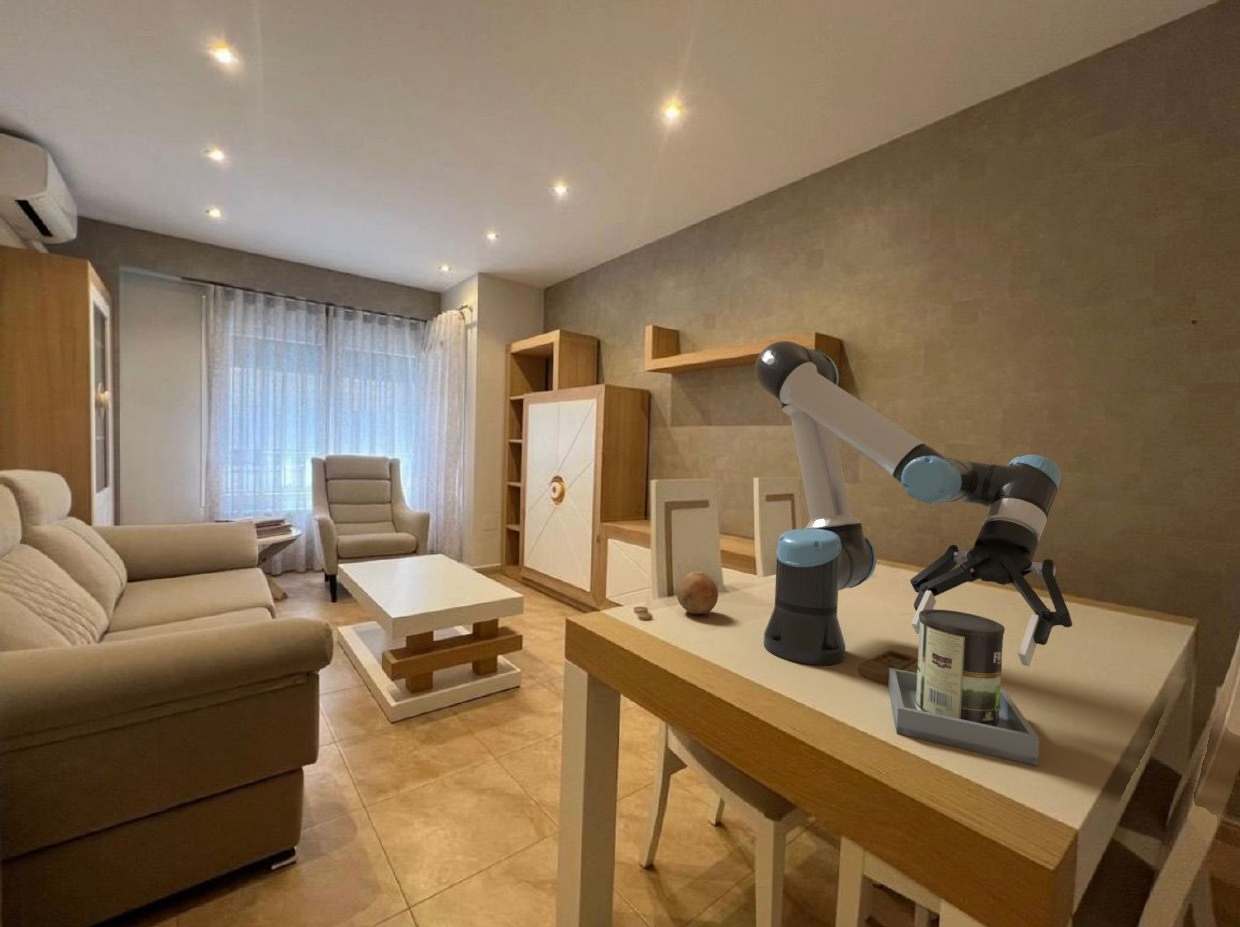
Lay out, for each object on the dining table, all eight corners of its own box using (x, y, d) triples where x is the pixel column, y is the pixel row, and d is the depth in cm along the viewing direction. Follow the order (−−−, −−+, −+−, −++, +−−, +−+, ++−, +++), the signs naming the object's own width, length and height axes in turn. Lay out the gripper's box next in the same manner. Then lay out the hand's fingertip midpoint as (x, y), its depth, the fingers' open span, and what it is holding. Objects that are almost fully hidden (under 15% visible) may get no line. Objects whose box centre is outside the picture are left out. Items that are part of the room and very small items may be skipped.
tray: (896, 733, 70) (897, 708, 70) (888, 688, 84) (889, 667, 84) (1038, 766, 63) (1039, 738, 63) (1003, 712, 78) (1004, 689, 78)
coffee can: (995, 712, 75) (1000, 617, 75) (1003, 743, 67) (1009, 636, 66) (915, 692, 81) (919, 604, 81) (912, 719, 72) (918, 620, 72)
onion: (723, 613, 123) (725, 571, 123) (707, 623, 114) (709, 579, 114) (687, 605, 128) (689, 565, 128) (669, 614, 120) (671, 572, 120)
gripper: (1120, 564, 73) (1084, 692, 65) (932, 537, 93) (887, 631, 85) (1112, 529, 70) (1074, 659, 61) (920, 509, 90) (872, 604, 82)
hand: (965, 643), depth 73 cm, fingers open, 13 cm apart
